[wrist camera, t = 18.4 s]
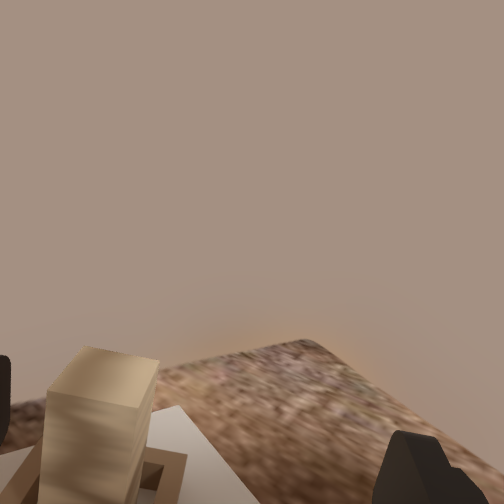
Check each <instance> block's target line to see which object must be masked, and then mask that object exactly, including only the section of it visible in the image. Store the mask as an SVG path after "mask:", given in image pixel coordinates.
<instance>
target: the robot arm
mask: <svg viewBox="0 0 504 504" xmlns="http://www.w3.org/2000/svg"><path fill="white" fill-rule="evenodd" d="M10 393H11V362H10V359H9V358H8V357H7V356H4V355H0V446H1V444H2V442H3V440H4V438H5V435H6V433H7V430H8V426H9V422H10ZM372 504H489V503H488V501H487V499H486V497H485V496H484V494H483V492H482V491H481V490H480V489H479V488H478V487H477V486H476V485H475V483H474V482H473V481H472V480H471V479H470V478H469V477H468V476H467V475H466V474H465V473H464V472H463V471H462V470H461V469H460V468H454V467H451V465H450V463H449V461H448V459H447V457H446V455H445V453H444V451H443V449H442V447H441V445H440V443H439V442H438V440H437V439H436V438H435V437H432V436H427V435H422V434H416V433H411V432H405V431H400V430H396V431H395V432H394V433H393V435H392V437H391V439H390V442H389V445H388V448H387V451H386V454H385V457H384V460H383V463H382V466H381V468H380V471H379V474H378V477H377V480H376V483H375V486H374V490H373V496H372Z"/></svg>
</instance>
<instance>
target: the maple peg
mask: <svg viewBox="0 0 504 504" xmlns="http://www.w3.org/2000/svg"><path fill="white" fill-rule="evenodd" d="M159 363H160V361H157V360H153V359H148V358H142V357H137V356H133V355H127V354H123V353H118V352H113V351H107V350H103V349H98V348H93V347H88V346H83V348H82V349H81V350H80V351H79V353H78V354H77V355H76V356H75V357H74V359H73V360H72V361H71V362H70V363H69V365H68V366H67V367H66V368H65V369H64V371H63V372H62V373H61V374H60V375H59V377H58V378H57V379H56V380H55V381H54V383H53V384H52V385H51V386H50V387H49V389H48V390H47V397H46V409H45V421H44V433H43V445H42V457H41V469H40V481H39V493H38V504H137V498H138V492H139V486H140V480H141V474H142V468H143V462H144V455H145V449H146V443H147V437H148V431H149V425H150V419H151V413H152V406H153V400H154V394H155V388H156V382H157V376H158V370H159Z"/></svg>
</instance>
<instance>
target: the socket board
mask: <svg viewBox="0 0 504 504" xmlns="http://www.w3.org/2000/svg"><path fill="white" fill-rule="evenodd" d="M42 445H43V435H42V436H41V438H40V439H39V440H38V442H37V443H36V445H34V446H31V447H27V448H24V449H20V450H17V451H13V452H10V453H6V454H2V455H0V504H38V493H39V481H40V469H41V457H42ZM137 504H260V503H259V502H258V501H257V499H256V498H255V497H254V496H253V494H252V493H251V492H250V491H249V490H248V488H247V487H246V486H245V485H244V484H243V482H242V481H241V480H240V479H239V477H238V476H237V475H236V474H235V473H234V471H233V470H232V469H231V468H230V467H229V465H228V464H227V463H226V462H225V461H224V459H223V458H222V457H221V456H220V454H219V453H218V452H217V451H216V450H215V448H214V447H213V446H212V445H211V444H210V442H209V441H208V440H207V439H206V437H205V436H204V435H203V434H202V433H201V431H200V430H199V429H198V428H197V427H196V425H195V424H194V423H193V422H192V420H191V419H190V418H189V417H188V416H187V414H186V413H185V412H184V411H183V410H182V408H181V407H180V406H179V405H176V406H173V407H169V408H166V409H162V410H159V411H155V412H152V413H151V419H150V425H149V431H148V437H147V443H146V449H145V455H144V462H143V468H142V474H141V480H140V486H139V492H138V498H137Z"/></svg>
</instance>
